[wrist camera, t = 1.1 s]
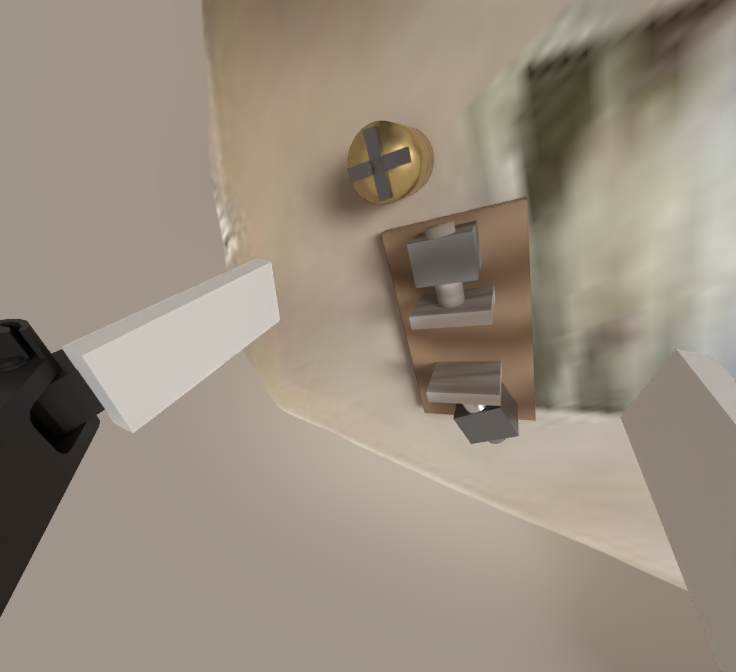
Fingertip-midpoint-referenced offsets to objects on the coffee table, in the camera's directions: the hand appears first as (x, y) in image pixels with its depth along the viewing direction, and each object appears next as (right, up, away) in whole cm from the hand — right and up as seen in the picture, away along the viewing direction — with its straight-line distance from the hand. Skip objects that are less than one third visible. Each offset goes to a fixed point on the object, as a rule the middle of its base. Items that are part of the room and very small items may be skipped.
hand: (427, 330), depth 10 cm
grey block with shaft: (+10, -6, +21) cm, 25 cm away
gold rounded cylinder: (+1, +15, +15) cm, 21 cm away
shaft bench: (+8, +1, +20) cm, 21 cm away
